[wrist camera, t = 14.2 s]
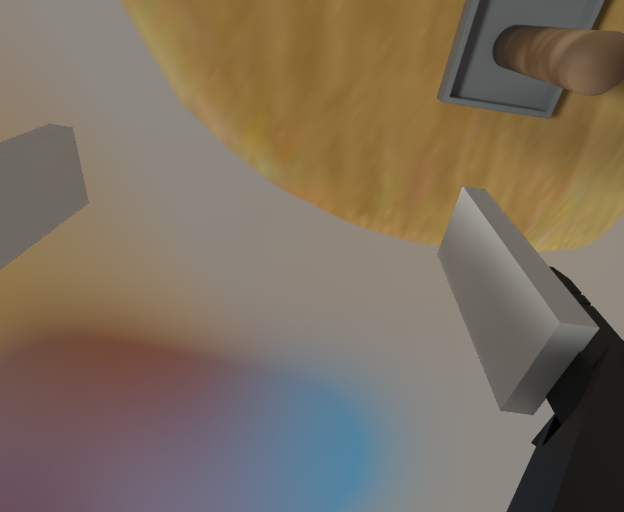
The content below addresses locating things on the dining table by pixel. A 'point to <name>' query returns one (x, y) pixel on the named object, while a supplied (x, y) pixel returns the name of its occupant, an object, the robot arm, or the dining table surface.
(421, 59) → the dining table surface
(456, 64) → the tray
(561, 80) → the dowel
